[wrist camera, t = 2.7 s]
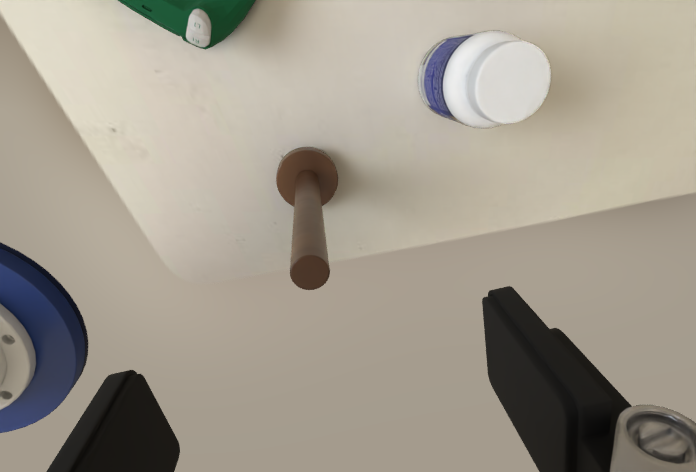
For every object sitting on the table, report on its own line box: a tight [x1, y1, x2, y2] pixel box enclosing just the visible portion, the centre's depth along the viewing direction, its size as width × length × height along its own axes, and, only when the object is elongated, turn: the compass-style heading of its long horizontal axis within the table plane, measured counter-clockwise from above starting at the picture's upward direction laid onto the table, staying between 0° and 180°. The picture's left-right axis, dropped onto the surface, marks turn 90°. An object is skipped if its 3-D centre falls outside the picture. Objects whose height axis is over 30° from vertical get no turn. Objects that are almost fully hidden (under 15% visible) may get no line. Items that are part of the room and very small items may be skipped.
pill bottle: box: [418, 31, 551, 128], centre depth 25 cm, size 5×5×9 cm
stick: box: [276, 147, 338, 290], centre depth 23 cm, size 4×4×15 cm
